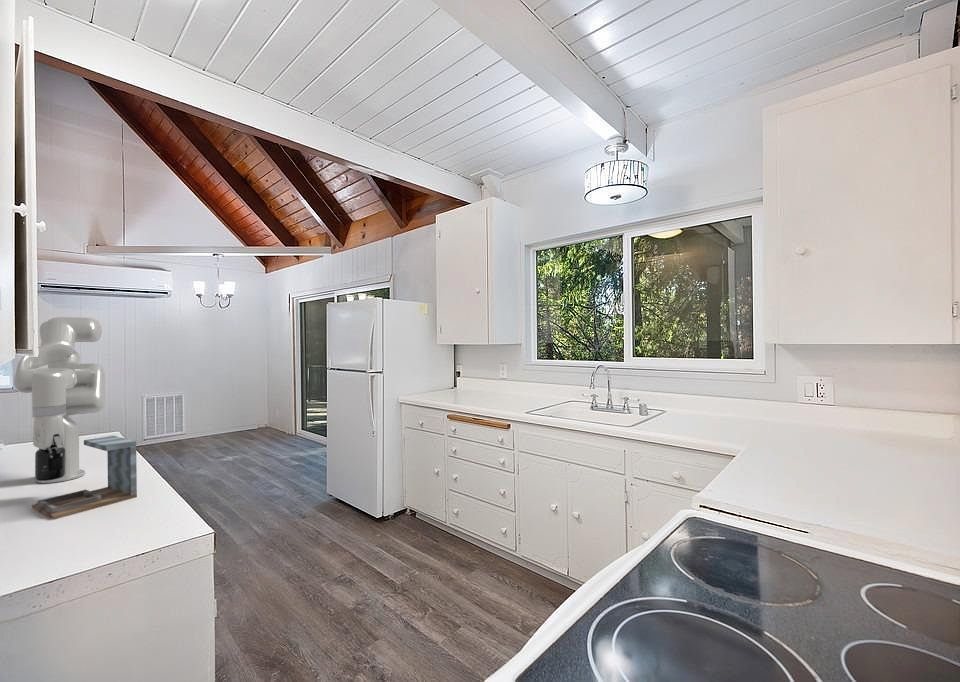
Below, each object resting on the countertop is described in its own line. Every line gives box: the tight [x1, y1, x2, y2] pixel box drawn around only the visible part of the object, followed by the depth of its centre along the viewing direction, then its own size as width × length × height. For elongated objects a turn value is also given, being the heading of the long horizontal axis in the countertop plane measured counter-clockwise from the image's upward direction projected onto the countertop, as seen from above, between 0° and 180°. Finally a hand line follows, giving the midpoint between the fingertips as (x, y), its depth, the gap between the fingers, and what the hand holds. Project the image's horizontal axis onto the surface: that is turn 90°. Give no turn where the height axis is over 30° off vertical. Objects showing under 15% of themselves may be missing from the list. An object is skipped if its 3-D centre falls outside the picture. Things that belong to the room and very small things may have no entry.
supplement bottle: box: [34, 446, 65, 481], centre depth 138 cm, size 7×7×12 cm
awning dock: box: [31, 435, 138, 520], centre depth 133 cm, size 16×20×18 cm
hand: (50, 467), depth 138 cm, fingers closed on supplement bottle, 6 cm apart
